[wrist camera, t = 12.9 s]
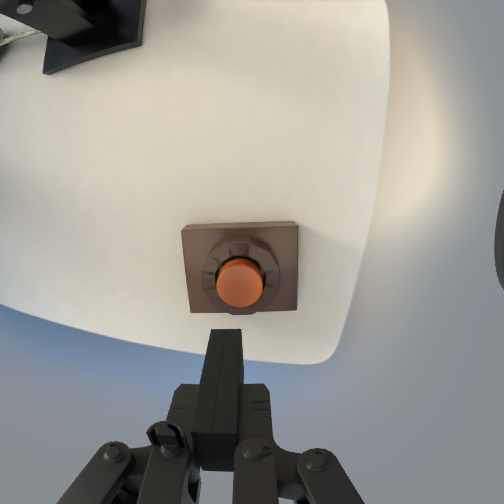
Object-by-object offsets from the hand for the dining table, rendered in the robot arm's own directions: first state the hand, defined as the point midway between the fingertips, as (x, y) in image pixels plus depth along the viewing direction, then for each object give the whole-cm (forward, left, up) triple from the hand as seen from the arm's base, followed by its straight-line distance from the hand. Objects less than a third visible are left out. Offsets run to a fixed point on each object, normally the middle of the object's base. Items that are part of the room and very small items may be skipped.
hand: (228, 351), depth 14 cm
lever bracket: (+15, -27, -14) cm, 34 cm away
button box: (0, 0, -14) cm, 14 cm away
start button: (0, 0, -10) cm, 10 cm away
